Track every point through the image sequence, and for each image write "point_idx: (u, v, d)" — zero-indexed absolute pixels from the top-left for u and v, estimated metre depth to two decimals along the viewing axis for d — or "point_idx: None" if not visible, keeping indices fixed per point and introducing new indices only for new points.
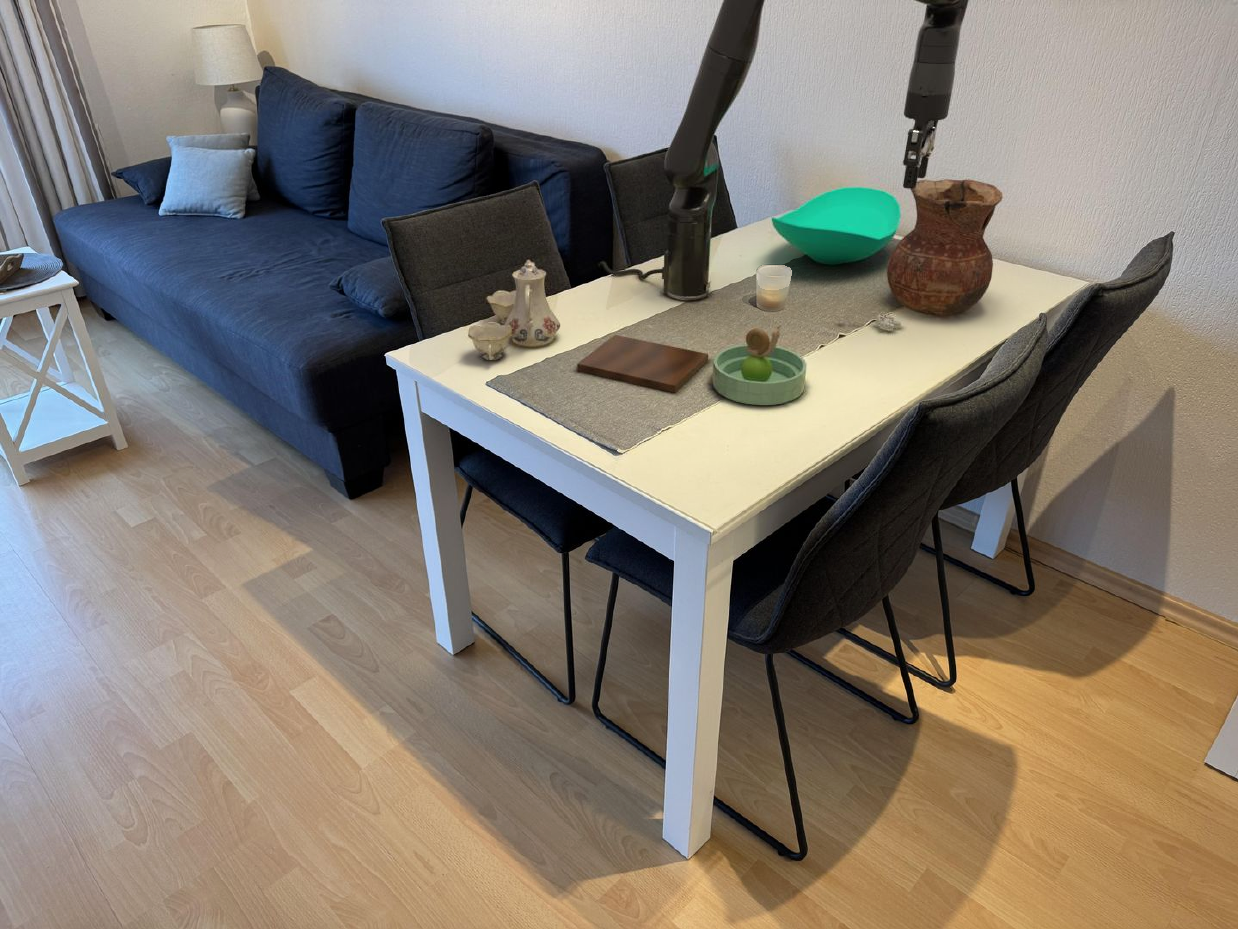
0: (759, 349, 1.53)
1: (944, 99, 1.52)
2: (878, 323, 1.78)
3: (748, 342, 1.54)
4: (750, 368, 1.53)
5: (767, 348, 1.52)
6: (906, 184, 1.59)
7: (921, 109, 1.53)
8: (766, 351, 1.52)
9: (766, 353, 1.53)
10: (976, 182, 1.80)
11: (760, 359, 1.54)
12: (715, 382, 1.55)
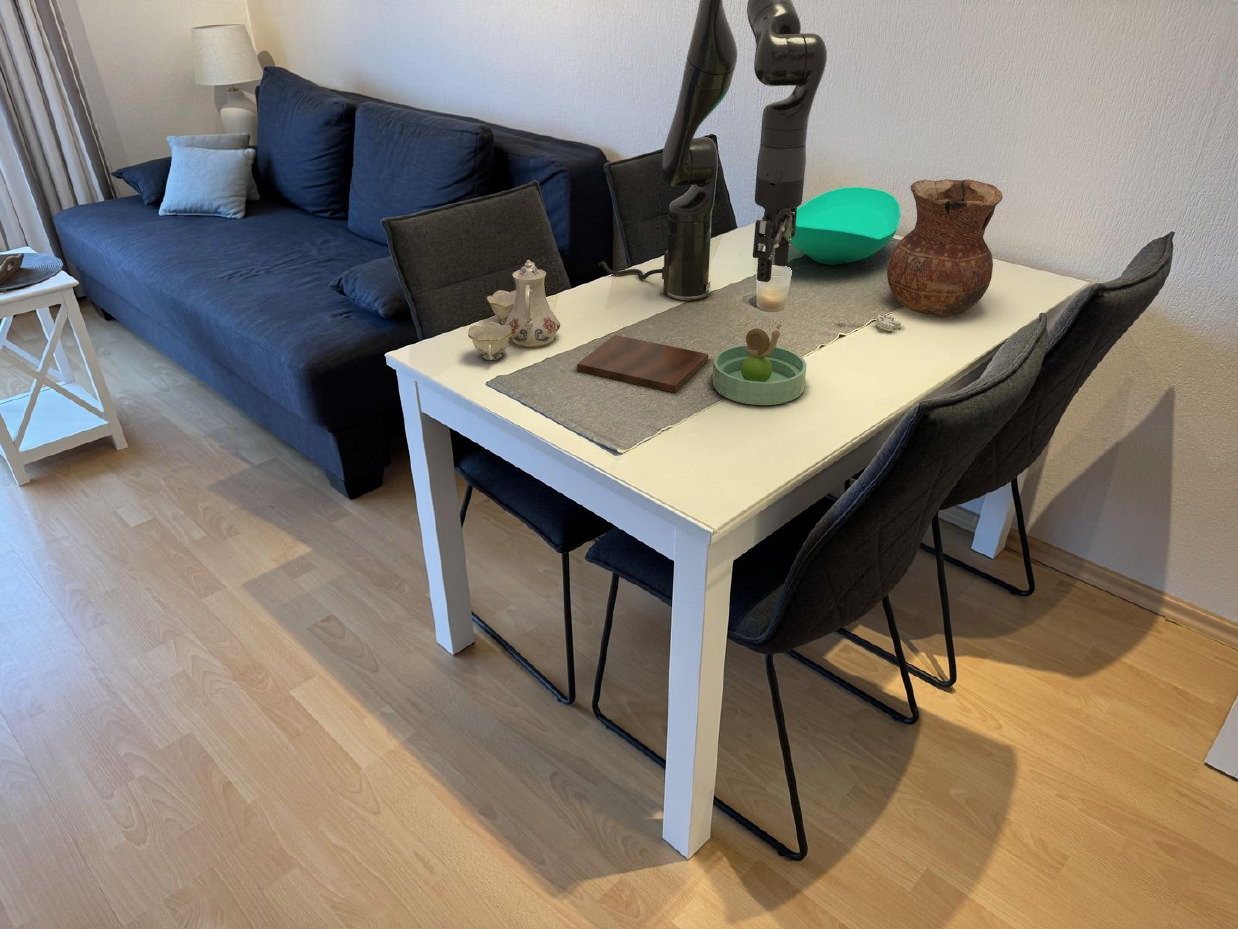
0: (759, 349, 1.53)
1: (794, 186, 1.36)
2: (878, 323, 1.78)
3: (748, 342, 1.54)
4: (750, 368, 1.53)
5: (767, 348, 1.52)
6: (759, 277, 1.43)
7: (770, 197, 1.37)
8: (766, 351, 1.52)
9: (766, 353, 1.53)
10: (976, 182, 1.80)
11: (760, 359, 1.54)
12: (715, 382, 1.55)
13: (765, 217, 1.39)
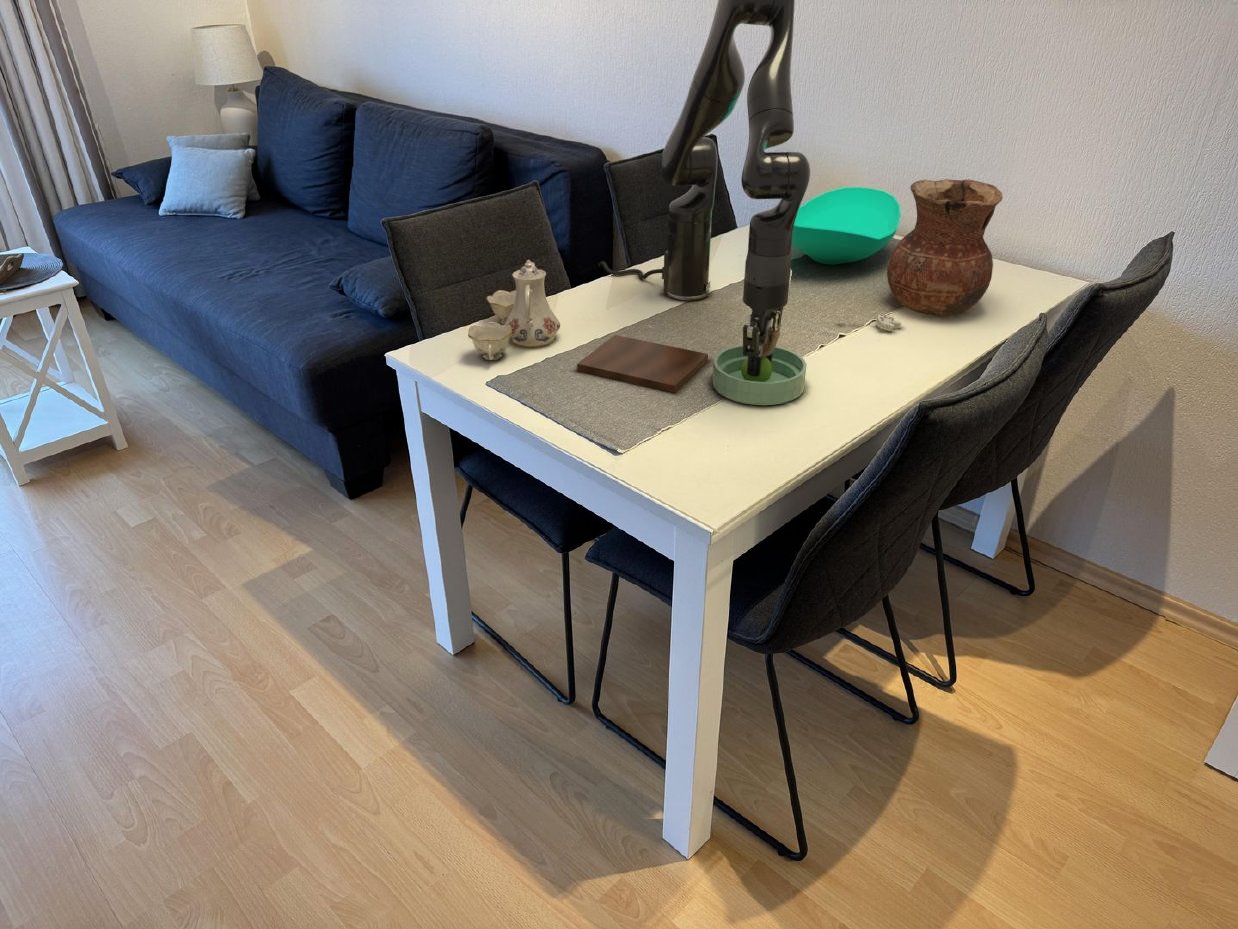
0: None
1: (780, 290, 1.44)
2: (878, 323, 1.78)
3: None
4: None
5: (767, 348, 1.52)
6: (749, 372, 1.52)
7: (757, 299, 1.45)
8: (766, 351, 1.52)
9: (766, 353, 1.53)
10: (976, 182, 1.80)
11: None
12: (715, 382, 1.55)
13: (752, 317, 1.47)
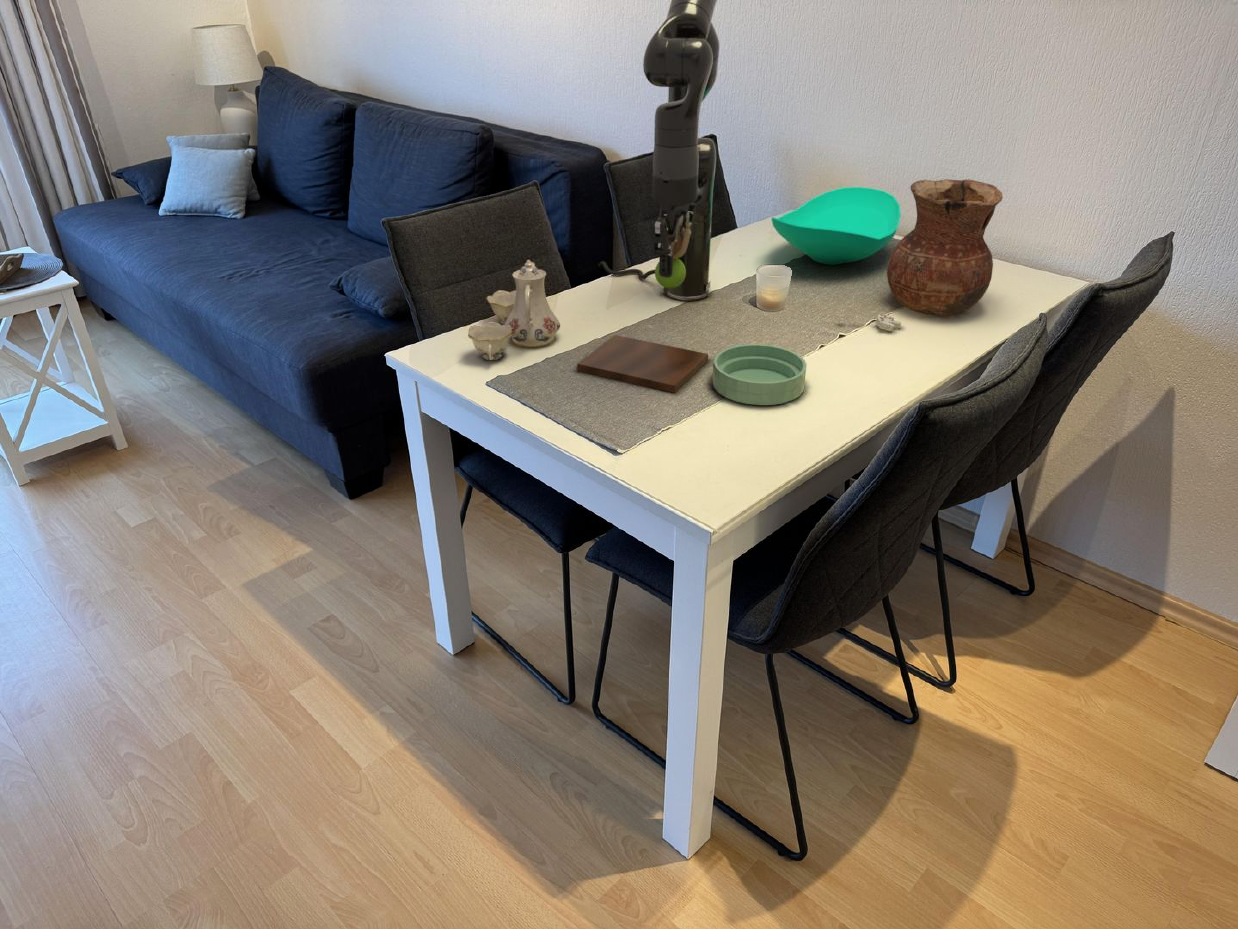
0: None
1: (687, 184, 1.42)
2: (878, 323, 1.78)
3: None
4: None
5: (679, 248, 1.50)
6: (661, 273, 1.50)
7: (664, 194, 1.43)
8: (678, 251, 1.50)
9: (678, 254, 1.50)
10: (976, 182, 1.80)
11: (673, 261, 1.51)
12: (715, 382, 1.55)
13: (661, 213, 1.44)
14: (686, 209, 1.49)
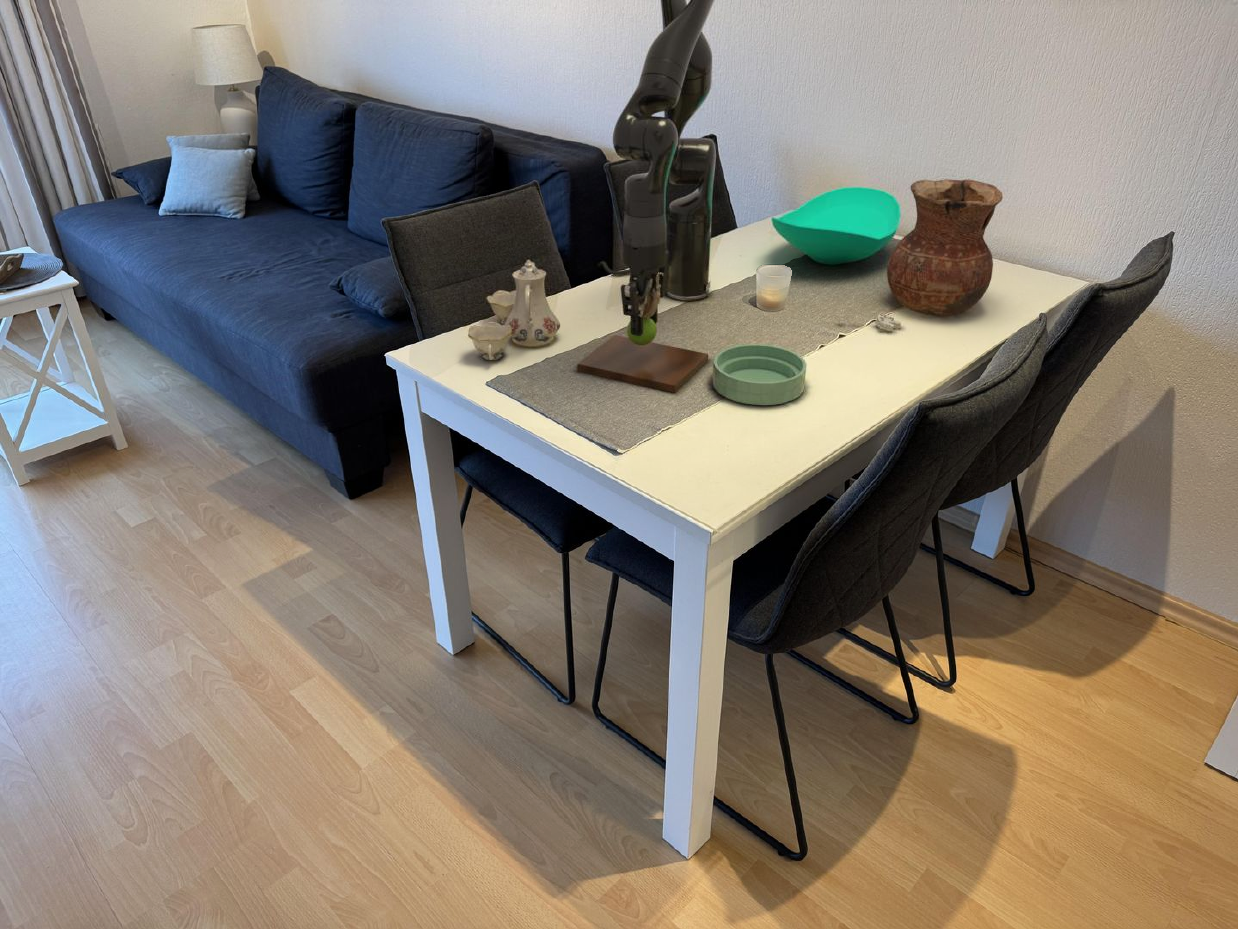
0: None
1: (655, 250, 1.50)
2: (878, 323, 1.78)
3: None
4: None
5: (649, 308, 1.57)
6: (632, 332, 1.57)
7: (634, 259, 1.50)
8: (648, 311, 1.58)
9: (648, 313, 1.58)
10: (976, 182, 1.80)
11: (643, 320, 1.59)
12: (715, 382, 1.55)
13: (631, 277, 1.52)
14: (656, 272, 1.57)
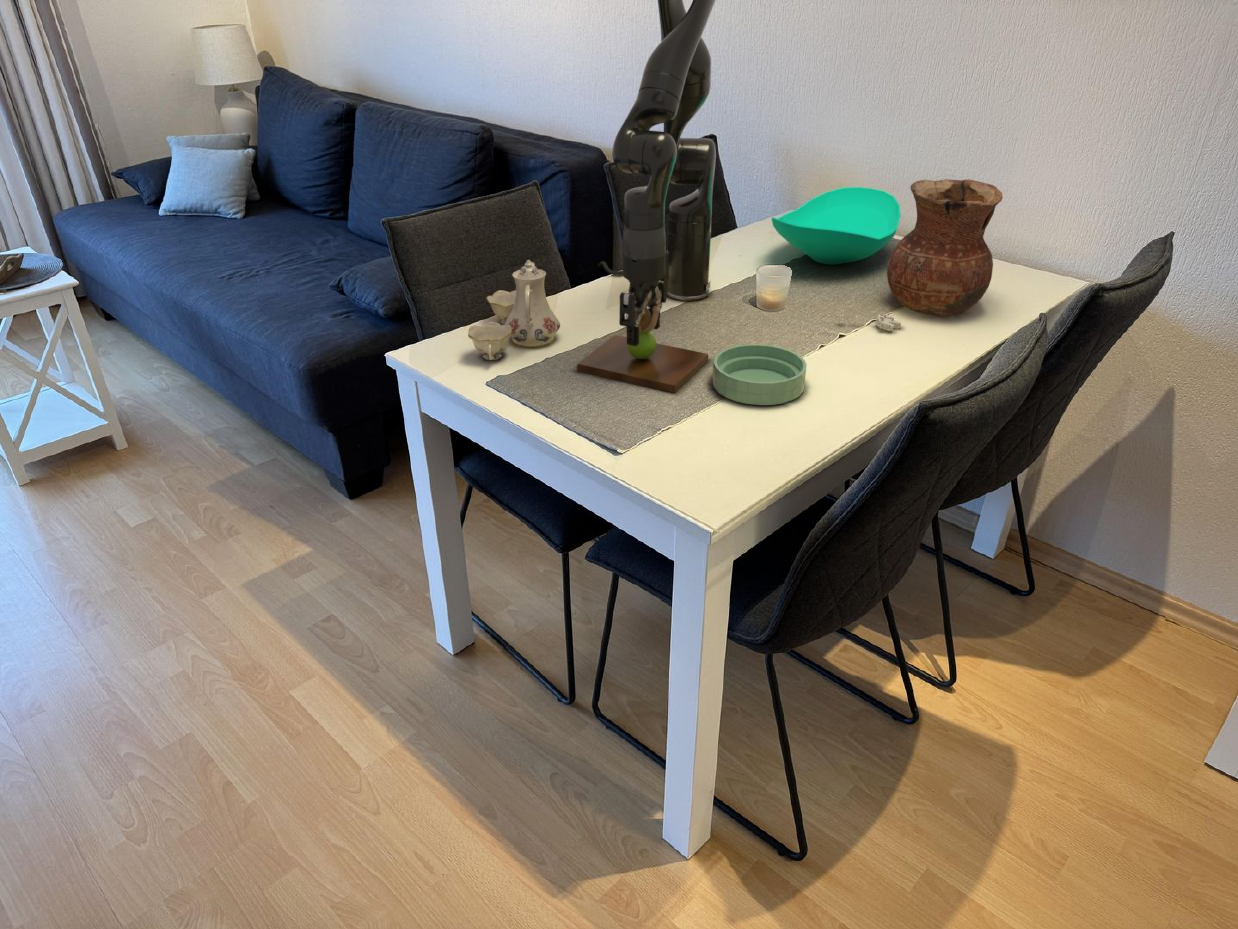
0: (642, 324, 1.60)
1: (654, 263, 1.51)
2: (878, 323, 1.78)
3: None
4: None
5: (649, 323, 1.59)
6: (628, 342, 1.57)
7: (633, 272, 1.52)
8: (648, 326, 1.59)
9: (648, 328, 1.59)
10: (976, 182, 1.80)
11: (643, 334, 1.60)
12: (715, 382, 1.55)
13: (630, 289, 1.53)
14: (655, 284, 1.58)
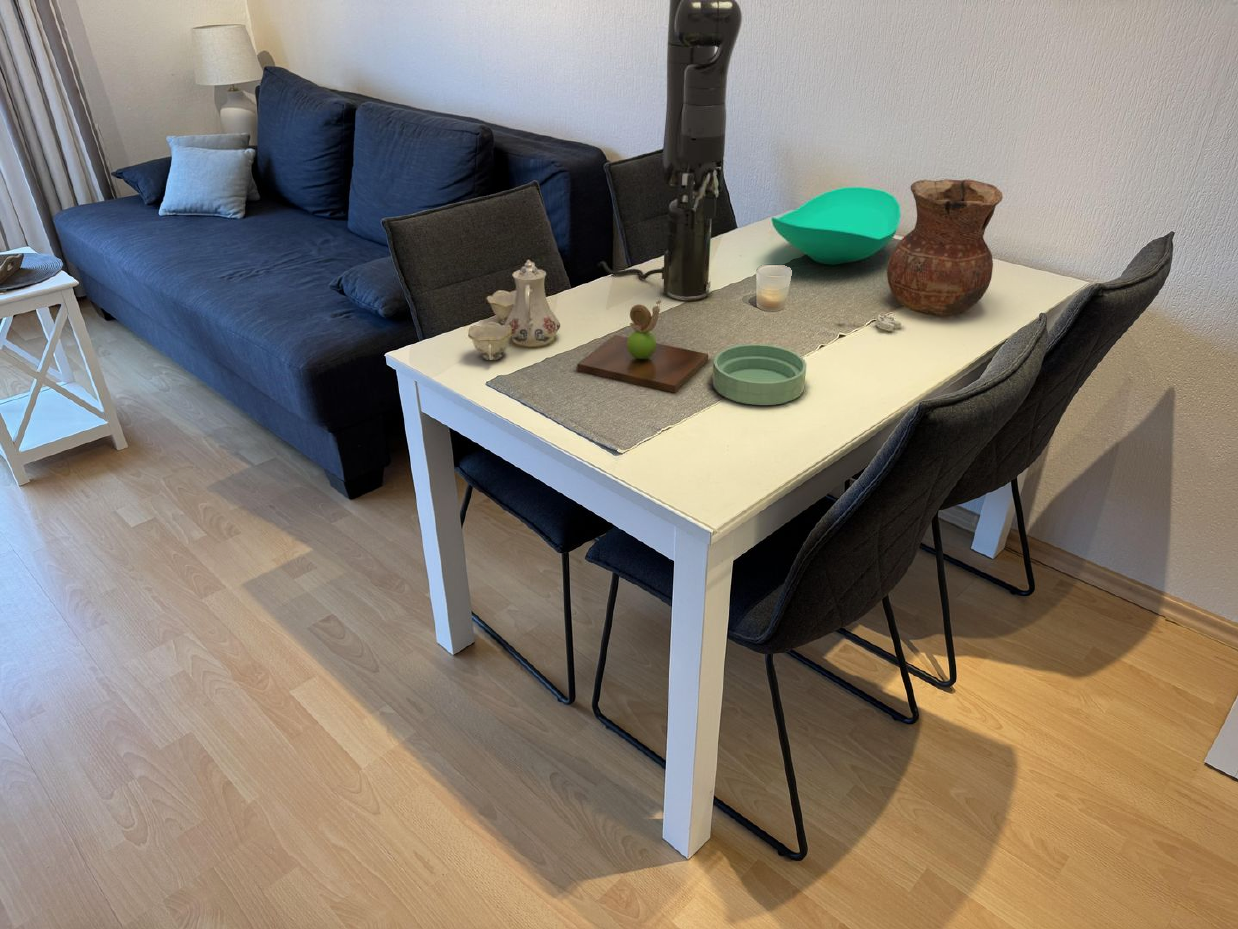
0: (642, 324, 1.60)
1: (714, 142, 1.47)
2: (878, 323, 1.78)
3: (632, 318, 1.60)
4: (634, 343, 1.60)
5: (649, 323, 1.59)
6: (685, 227, 1.54)
7: (692, 151, 1.48)
8: (648, 326, 1.59)
9: (648, 328, 1.59)
10: (976, 182, 1.80)
11: (643, 334, 1.60)
12: (715, 382, 1.55)
13: (688, 170, 1.50)
14: (713, 168, 1.54)
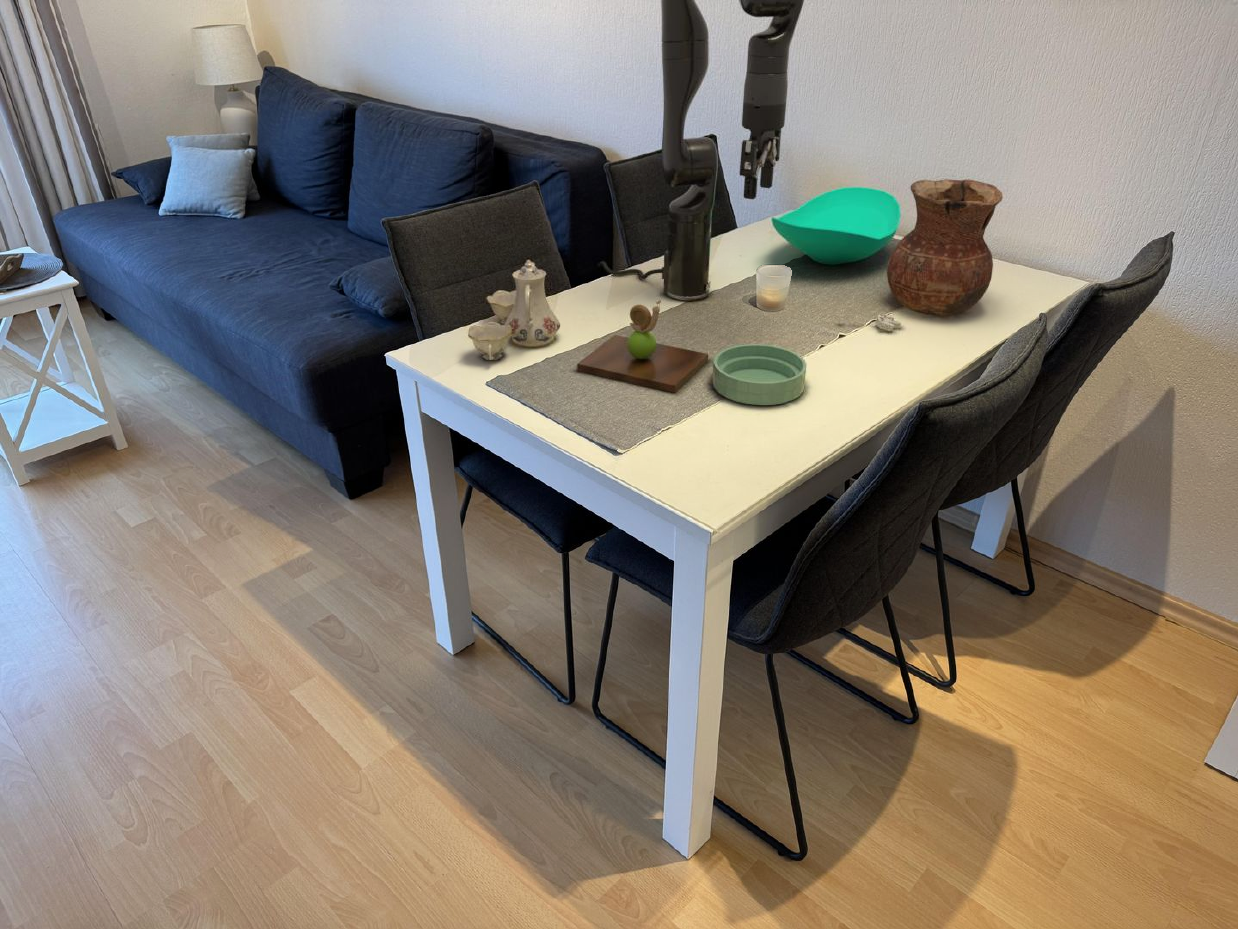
0: (642, 324, 1.60)
1: (777, 109, 1.51)
2: (878, 323, 1.78)
3: (632, 318, 1.60)
4: (634, 343, 1.60)
5: (649, 323, 1.59)
6: (746, 194, 1.58)
7: (755, 119, 1.52)
8: (648, 326, 1.59)
9: (648, 328, 1.59)
10: (976, 182, 1.80)
11: (643, 334, 1.60)
12: (715, 382, 1.55)
13: (751, 138, 1.54)
14: (772, 137, 1.59)
